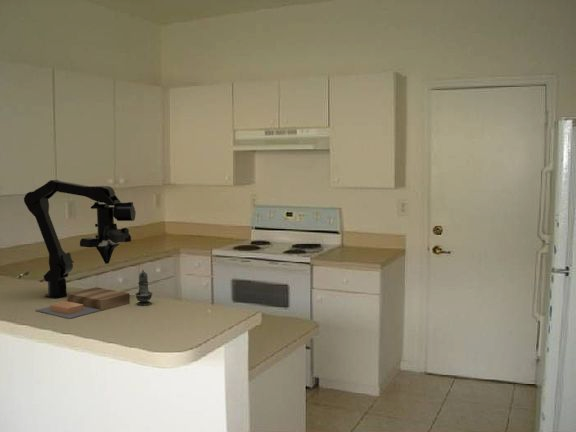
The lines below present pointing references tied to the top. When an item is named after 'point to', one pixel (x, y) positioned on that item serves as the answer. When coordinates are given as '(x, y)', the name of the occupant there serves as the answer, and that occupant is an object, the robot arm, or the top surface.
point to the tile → (66, 307)
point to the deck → (99, 298)
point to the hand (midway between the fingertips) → (107, 263)
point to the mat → (86, 311)
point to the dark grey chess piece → (143, 290)
